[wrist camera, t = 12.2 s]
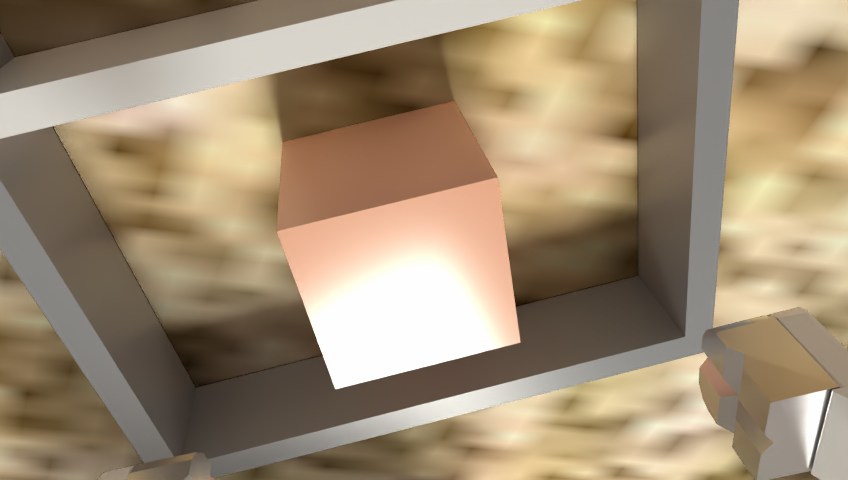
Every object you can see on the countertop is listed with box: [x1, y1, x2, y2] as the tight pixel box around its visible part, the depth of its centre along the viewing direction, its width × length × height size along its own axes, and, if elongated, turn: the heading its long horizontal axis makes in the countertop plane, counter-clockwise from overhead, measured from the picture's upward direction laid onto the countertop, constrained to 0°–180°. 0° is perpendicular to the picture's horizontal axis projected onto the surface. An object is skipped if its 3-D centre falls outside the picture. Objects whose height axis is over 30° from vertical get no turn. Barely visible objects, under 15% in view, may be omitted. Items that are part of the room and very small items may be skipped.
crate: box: [0, 0, 739, 478], centre depth 14 cm, size 16×22×3 cm
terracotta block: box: [277, 101, 521, 389], centre depth 16 cm, size 4×4×4 cm
